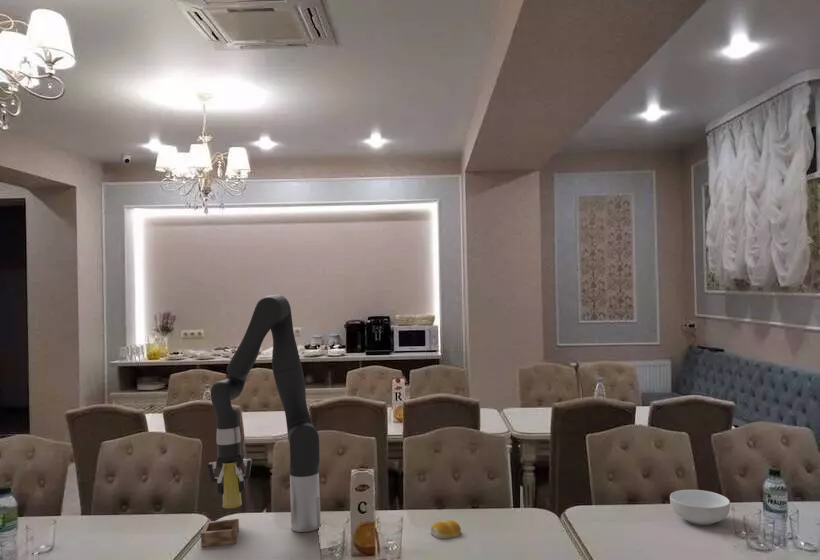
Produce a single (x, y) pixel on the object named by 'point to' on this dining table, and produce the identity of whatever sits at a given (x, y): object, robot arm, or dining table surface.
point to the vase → (231, 486)
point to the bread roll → (445, 529)
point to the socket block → (220, 532)
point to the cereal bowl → (700, 506)
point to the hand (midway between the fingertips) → (231, 492)
